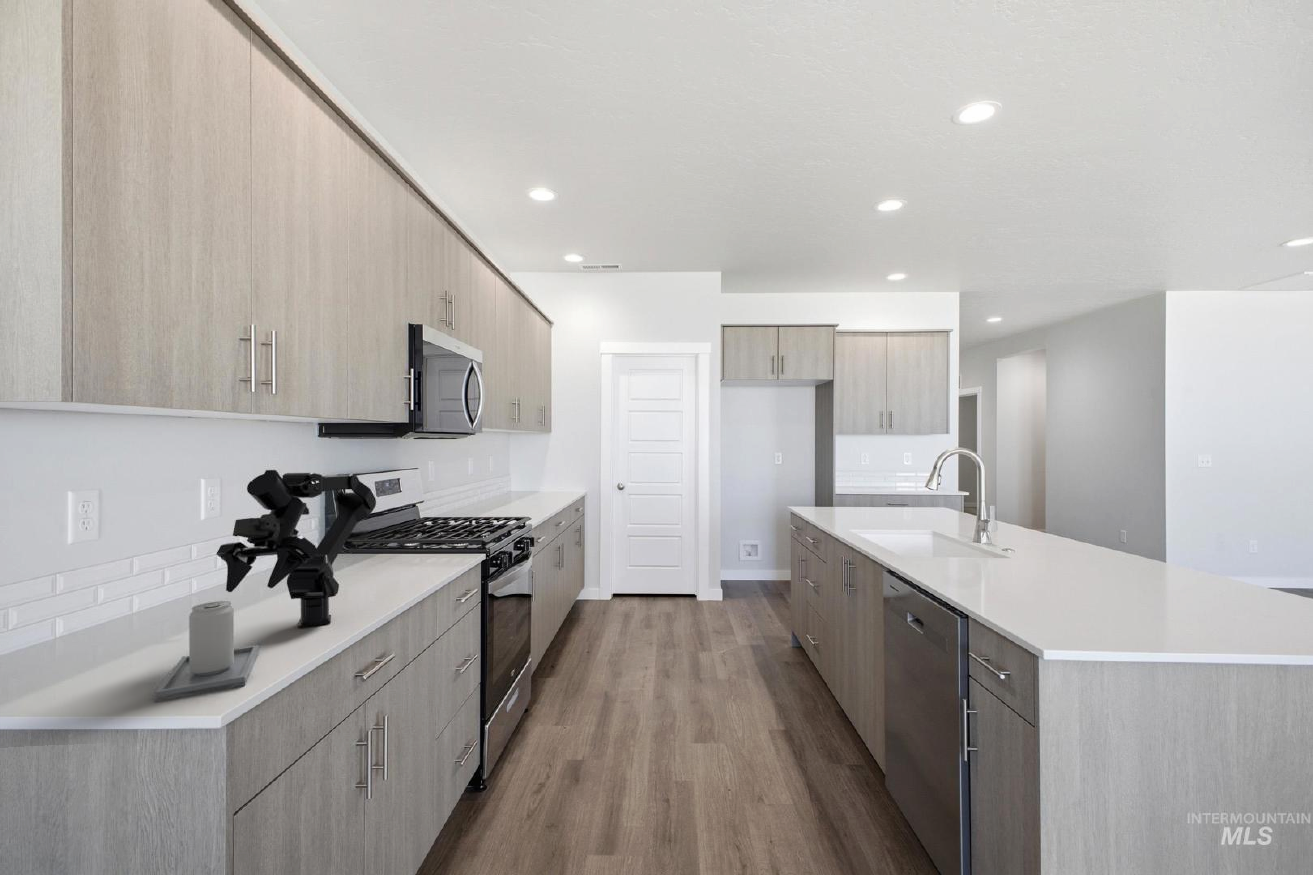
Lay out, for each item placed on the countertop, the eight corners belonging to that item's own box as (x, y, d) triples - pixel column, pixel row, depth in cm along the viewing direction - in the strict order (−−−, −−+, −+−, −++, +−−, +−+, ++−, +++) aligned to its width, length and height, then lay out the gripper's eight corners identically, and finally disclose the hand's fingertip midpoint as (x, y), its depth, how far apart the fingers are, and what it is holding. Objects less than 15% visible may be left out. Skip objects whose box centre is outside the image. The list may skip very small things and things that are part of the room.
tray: (182, 665, 108) (182, 656, 108) (258, 652, 114) (258, 645, 114) (154, 702, 92) (154, 692, 92) (244, 685, 98) (244, 676, 98)
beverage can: (189, 680, 98) (189, 612, 99) (189, 669, 103) (188, 604, 103) (235, 670, 103) (234, 604, 103) (232, 660, 107) (232, 597, 108)
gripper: (215, 506, 117) (174, 575, 107) (295, 496, 115) (262, 566, 104) (253, 533, 125) (219, 599, 115) (329, 524, 123) (301, 592, 113)
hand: (249, 589), depth 112 cm, fingers open, 9 cm apart
